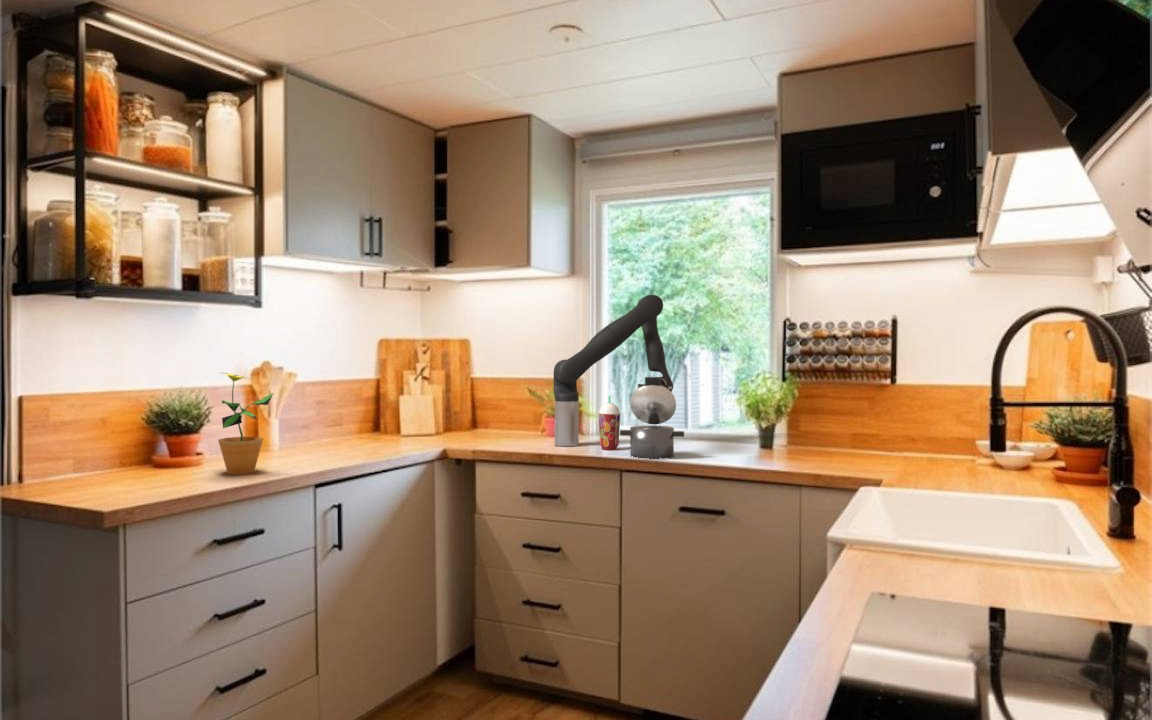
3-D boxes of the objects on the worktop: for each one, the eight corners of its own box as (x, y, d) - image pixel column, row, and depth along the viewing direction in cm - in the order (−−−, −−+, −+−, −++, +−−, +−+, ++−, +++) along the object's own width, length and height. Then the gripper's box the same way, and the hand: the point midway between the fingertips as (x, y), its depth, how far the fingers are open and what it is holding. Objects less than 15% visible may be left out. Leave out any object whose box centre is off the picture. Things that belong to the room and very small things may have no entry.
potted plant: (248, 478, 218) (248, 372, 218) (193, 475, 223) (193, 372, 223) (287, 469, 235) (287, 371, 235) (236, 466, 241) (236, 370, 240)
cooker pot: (623, 452, 278) (623, 424, 278) (684, 453, 275) (684, 425, 274) (617, 458, 262) (617, 429, 262) (683, 460, 258) (683, 430, 258)
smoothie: (625, 449, 287) (625, 395, 286) (610, 451, 280) (610, 396, 280) (608, 447, 292) (608, 394, 292) (593, 449, 286) (593, 395, 286)
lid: (631, 423, 277) (632, 420, 279) (676, 424, 274) (676, 421, 276) (629, 379, 268) (629, 376, 270) (675, 379, 265) (675, 376, 267)
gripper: (638, 376, 289) (634, 377, 272) (674, 377, 287) (671, 377, 270) (638, 396, 289) (634, 398, 272) (674, 397, 287) (671, 399, 270)
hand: (653, 388), depth 271 cm, fingers closed
